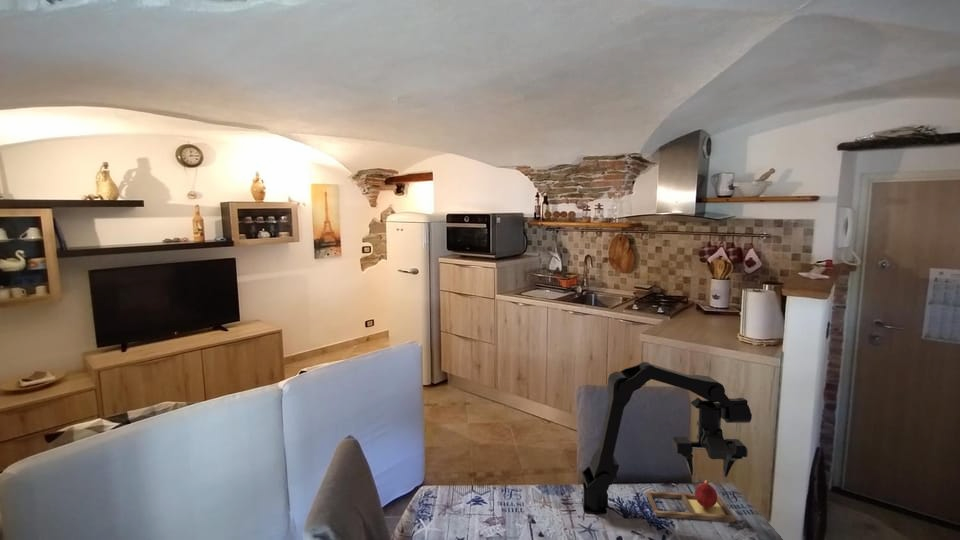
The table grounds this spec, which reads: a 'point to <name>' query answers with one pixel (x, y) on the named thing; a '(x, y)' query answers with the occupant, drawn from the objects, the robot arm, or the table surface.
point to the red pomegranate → (706, 495)
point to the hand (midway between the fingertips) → (708, 475)
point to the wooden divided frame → (692, 507)
